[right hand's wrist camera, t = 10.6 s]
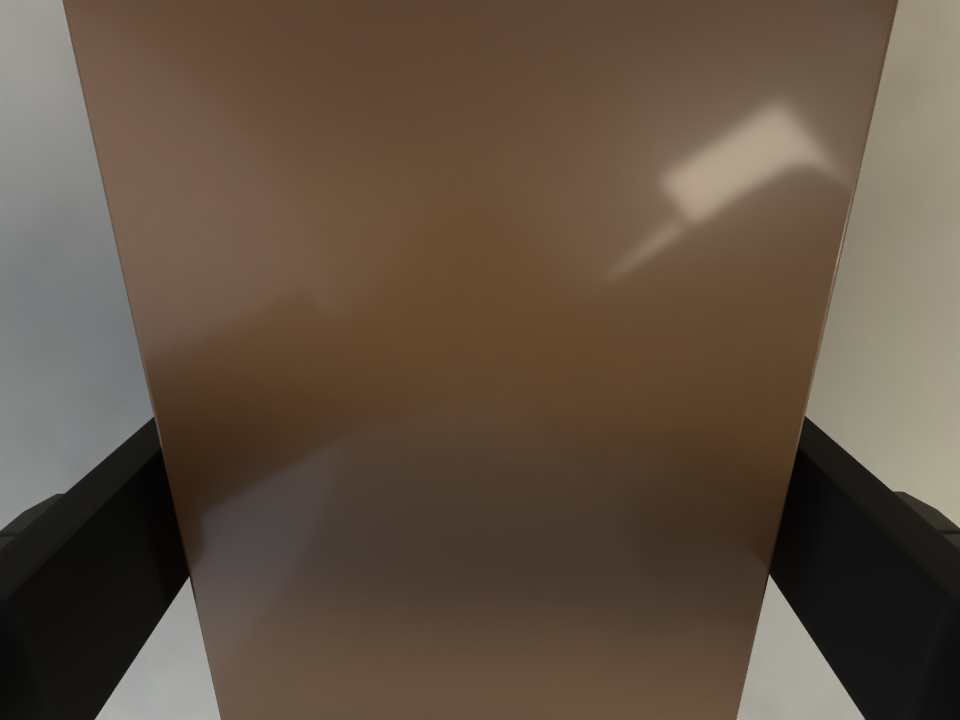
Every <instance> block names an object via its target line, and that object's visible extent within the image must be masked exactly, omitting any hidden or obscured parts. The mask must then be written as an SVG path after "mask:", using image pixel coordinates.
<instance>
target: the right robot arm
mask: <svg viewBox="0 0 960 720" xmlns="http://www.w3.org/2000/svg"><path fill="white" fill-rule="evenodd" d="M769 574H770V576H771V577H772V579H773V580H774V582H775V583H776V585H777V586H778V588H779V589H780V591H781V592H782V594H783V595H784V597H785V598H786V600H787V601H788V603H789V604H790V606H791V607H792V609H793V611H794V612H795V614H796V615H797V617H798V618H799V620H800V621H801V623H802V624H803V626H804V627H805V629H806V630H807V632H808V633H809V635H810V636H811V638H812V639H813V641H814V642H815V644H816V645H817V647H818V648H819V650H820V651H821V653H822V655H823V656H824V658H825V659H826V661H827V662H828V664H829V665H830V667H831V668H832V670H833V671H834V673H835V674H836V676H837V677H838V679H839V680H840V682H841V683H842V685H843V686H844V688H845V689H846V691H847V692H848V694H849V695H850V697H851V699H852V700H853V702H854V703H855V705H856V706H857V708H858V709H859V711H860V712H861V714H862V715H863V717H864V718H865V720H960V528H959V527H958V526H956V525H955V524H954V523H953V522H951V521H950V520H949V519H948V518H947V517H945V516H944V515H943V514H942V513H940V512H939V511H938V510H937V509H935V508H933V507H931V506H929V505H927V504H925V503H924V502H922V501H920V500H918V499H916V498H914V497H912V496H910V495H908V494H907V493H905V492H893V491H891V490H890V489H889V488H888V487H887V486H886V485H884V484H883V483H882V482H881V481H880V480H879V479H878V478H876V477H875V476H874V475H873V474H872V473H871V472H869V471H868V470H867V469H866V468H865V467H864V466H862V465H861V464H860V463H859V462H858V461H857V460H856V459H854V458H853V457H852V456H851V455H850V454H849V453H847V452H846V451H845V450H844V449H843V448H842V447H840V446H839V445H838V444H837V443H836V442H835V441H834V440H832V439H831V438H830V437H829V436H828V435H827V434H825V433H824V432H823V431H822V430H821V429H820V428H818V427H817V426H816V425H815V424H814V423H813V422H812V421H810V420H809V419H808V418H807V417H806V416H805V417H804V421H803V425H802V430H801V434H800V439H799V443H798V448H797V452H796V457H795V461H794V465H793V470H792V474H791V479H790V483H789V488H788V492H787V496H786V501H785V505H784V510H783V514H782V519H781V523H780V528H779V532H778V536H777V541H776V545H775V550H774V554H773V559H772V563H771V568H770V572H769ZM188 577H189V572H188V567H187V563H186V558H185V554H184V549H183V544H182V540H181V535H180V531H179V526H178V522H177V517H176V513H175V508H174V504H173V499H172V495H171V490H170V486H169V481H168V476H167V472H166V467H165V463H164V458H163V454H162V449H161V445H160V440H159V436H158V431H157V427H156V422H155V417H153V418H152V419H151V420H150V421H148V422H147V423H146V424H145V425H144V426H143V427H142V428H140V429H139V430H138V431H137V432H136V433H135V434H133V435H132V436H131V437H130V438H129V439H128V440H126V441H125V442H124V443H123V444H122V445H121V446H120V447H118V448H117V449H116V450H115V451H114V452H113V453H111V454H110V455H109V456H108V457H107V458H106V459H104V460H103V461H102V462H101V463H100V464H99V465H98V466H96V467H95V468H94V469H93V470H92V471H91V472H89V473H88V474H87V475H86V476H85V477H84V478H83V479H81V480H80V481H79V482H78V483H77V484H76V485H74V486H73V487H72V488H71V489H70V490H69V491H67V492H66V493H65V494H56V495H54V496H52V497H50V498H48V499H47V500H45V501H43V502H41V503H39V504H37V505H35V506H33V507H32V508H30V509H28V510H26V511H24V512H23V513H22V514H20V515H19V516H18V517H17V518H16V519H14V520H13V521H12V522H11V523H9V524H8V525H7V526H6V527H5V528H3V529H2V530H1V531H0V720H95V718H96V717H97V715H98V714H99V712H100V711H101V709H102V708H103V706H104V705H105V703H106V702H107V700H108V699H109V697H110V695H111V694H112V692H113V691H114V689H115V688H116V686H117V685H118V683H119V682H120V680H121V679H122V677H123V676H124V674H125V673H126V671H127V670H128V668H129V667H130V665H131V664H132V662H133V661H134V659H135V658H136V656H137V655H138V653H139V651H140V650H141V648H142V647H143V645H144V644H145V642H146V641H147V639H148V638H149V636H150V635H151V633H152V632H153V630H154V629H155V627H156V626H157V624H158V623H159V621H160V620H161V618H162V617H163V615H164V614H165V612H166V611H167V609H168V608H169V606H170V604H171V603H172V601H173V600H174V598H175V597H176V595H177V594H178V592H179V591H180V589H181V588H182V586H183V585H184V583H185V582H186V580H187V579H188Z"/></svg>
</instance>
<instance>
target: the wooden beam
mask: <svg viewBox="0 0 960 720" xmlns="http://www.w3.org/2000/svg"><path fill="white" fill-rule="evenodd" d="M897 4H898V0H63V5H64V9H65V14H66V18H67V23H68V27H69V32H70V36H71V41H72V45H73V50H74V55H75V59H76V64H77V68H78V73H79V77H80V82H81V86H82V91H83V95H84V100H85V104H86V109H87V114H88V118H89V123H90V127H91V132H92V136H93V141H94V145H95V150H96V154H97V159H98V163H99V168H100V172H101V177H102V182H103V186H104V191H105V195H106V200H107V204H108V209H109V213H110V218H111V222H112V227H113V231H114V236H115V241H116V245H117V250H118V254H119V259H120V263H121V268H122V272H123V277H124V281H125V286H126V290H127V295H128V300H129V304H130V309H131V313H132V318H133V322H134V327H135V331H136V336H137V340H138V345H139V349H140V354H141V358H142V363H143V368H144V372H145V377H146V381H147V386H148V390H149V395H150V399H151V404H152V408H153V413H154V417H155V422H156V427H157V431H158V436H159V440H160V445H161V449H162V454H163V458H164V463H165V467H166V472H167V476H168V481H169V486H170V490H171V495H172V499H173V504H174V508H175V513H176V517H177V522H178V526H179V531H180V535H181V540H182V544H183V549H184V554H185V558H186V563H187V567H188V572H189V576H190V581H191V585H192V590H193V594H194V599H195V603H196V608H197V613H198V617H199V622H200V626H201V631H202V635H203V640H204V644H205V649H206V653H207V658H208V662H209V667H210V672H211V676H212V681H213V685H214V690H215V694H216V699H217V703H218V708H219V712H220V717H221V720H736V719H737V714H738V710H739V705H740V701H741V696H742V692H743V687H744V683H745V679H746V674H747V670H748V665H749V661H750V656H751V652H752V647H753V643H754V639H755V634H756V630H757V625H758V621H759V616H760V612H761V607H762V603H763V599H764V594H765V590H766V585H767V581H768V576H769V572H770V568H771V563H772V559H773V554H774V550H775V545H776V541H777V536H778V532H779V528H780V523H781V519H782V514H783V510H784V505H785V501H786V496H787V492H788V488H789V483H790V479H791V474H792V470H793V465H794V461H795V457H796V452H797V448H798V443H799V439H800V434H801V430H802V425H803V421H804V417H805V412H806V408H807V403H808V399H809V394H810V390H811V385H812V381H813V377H814V372H815V368H816V363H817V359H818V354H819V350H820V346H821V341H822V337H823V332H824V328H825V323H826V319H827V314H828V310H829V306H830V301H831V297H832V292H833V288H834V283H835V279H836V274H837V270H838V266H839V261H840V257H841V252H842V248H843V243H844V239H845V234H846V230H847V226H848V221H849V217H850V212H851V208H852V203H853V199H854V195H855V190H856V186H857V181H858V177H859V172H860V168H861V163H862V159H863V155H864V150H865V146H866V141H867V137H868V132H869V128H870V123H871V119H872V115H873V110H874V106H875V101H876V97H877V92H878V88H879V84H880V79H881V75H882V70H883V66H884V61H885V57H886V52H887V48H888V44H889V39H890V35H891V30H892V26H893V21H894V17H895V12H896V8H897Z"/></svg>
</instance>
